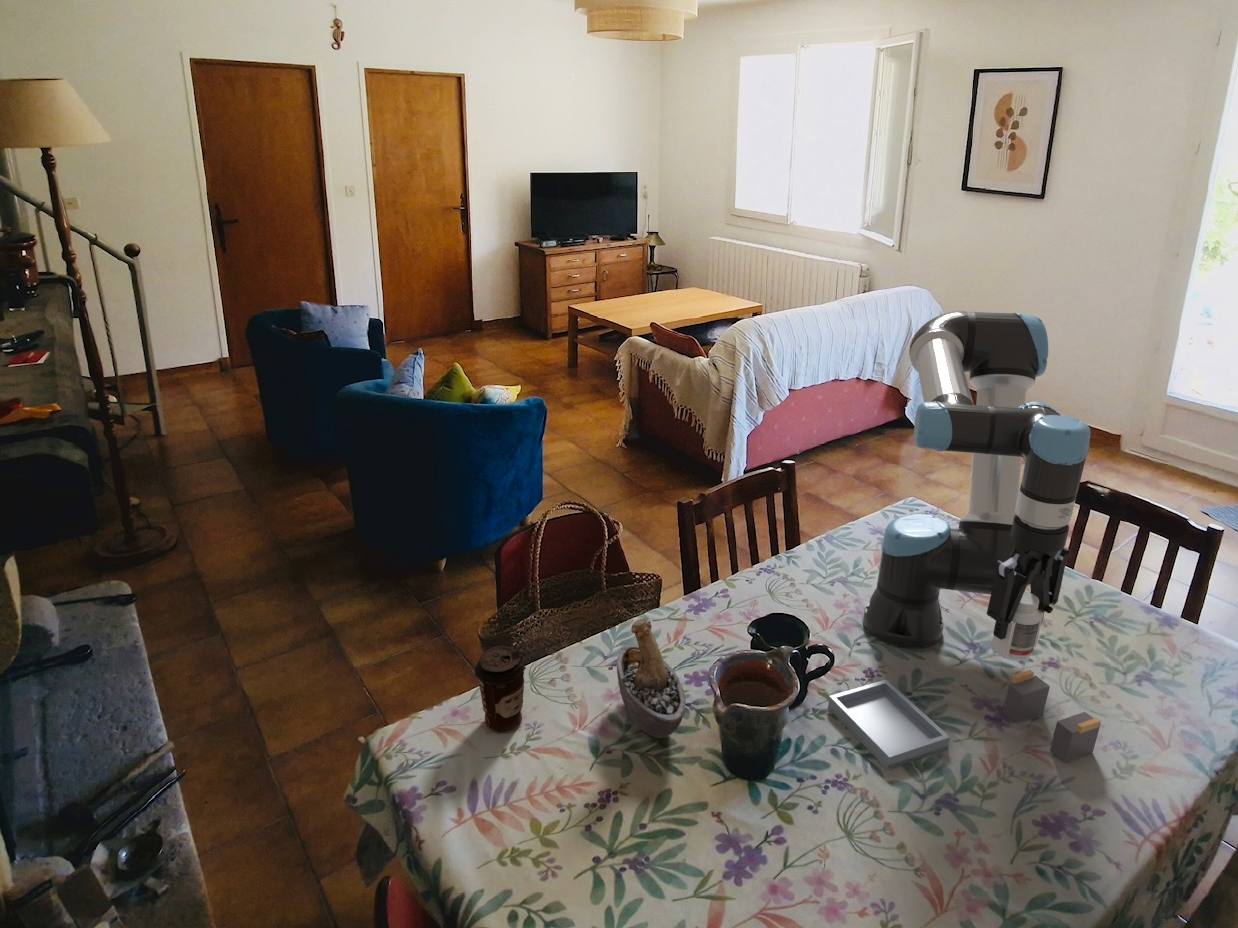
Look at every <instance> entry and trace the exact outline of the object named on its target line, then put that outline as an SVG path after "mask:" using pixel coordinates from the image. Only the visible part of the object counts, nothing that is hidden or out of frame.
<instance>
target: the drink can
mask: <svg viewBox="0 0 1238 928" xmlns="http://www.w3.org/2000/svg"><path fill="white" fill-rule="evenodd" d="M523 657H524V655H523V654H522V653H521V652H520V651H519V650H517V649H515V648H512V647H510V646H506V645H499V646H498V645H497V646H494V647H491V648H488V649H487V650H485V651H484V652H483V653H482V654H481V655H480V657H479V660H478V662H477V663H476V665H475V668H474V676H475V677H476V678H477V680H478V684H479V685H478V686H479V691H480V698H481V704H482V710H483V711H484V713H485V714H484V722H485V725H486V727H487V728H488V729H489V730H490V731H492V732H494V733H496V734H497V733H498V734H503V733H510V732H512V731H514V730H515V729H517V728H518V727H519V726H520V725H521V723H522V720H523V717H522V716H523V713H522V709H523V706H524V704H523V703H524V693H525V692H524V690H525V678H524V676H525V670H526V669H527V667H526V666H525V662H524V660H523Z"/></svg>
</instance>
